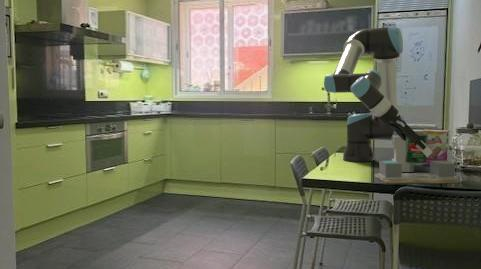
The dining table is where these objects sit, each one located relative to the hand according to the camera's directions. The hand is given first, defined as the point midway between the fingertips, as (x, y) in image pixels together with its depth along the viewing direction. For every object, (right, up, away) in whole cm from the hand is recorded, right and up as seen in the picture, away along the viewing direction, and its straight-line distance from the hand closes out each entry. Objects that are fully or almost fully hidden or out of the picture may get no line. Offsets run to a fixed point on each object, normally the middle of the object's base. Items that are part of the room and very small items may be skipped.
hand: (425, 152), depth 180 cm
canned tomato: (-3, -4, 0) cm, 5 cm away
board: (-3, -10, +1) cm, 11 cm away
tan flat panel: (-3, -10, +1) cm, 11 cm away
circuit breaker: (+2, -9, +21) cm, 23 cm away
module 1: (-13, -9, +1) cm, 16 cm away
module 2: (+7, -9, +1) cm, 11 cm away
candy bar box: (+19, -8, +36) cm, 42 cm away
